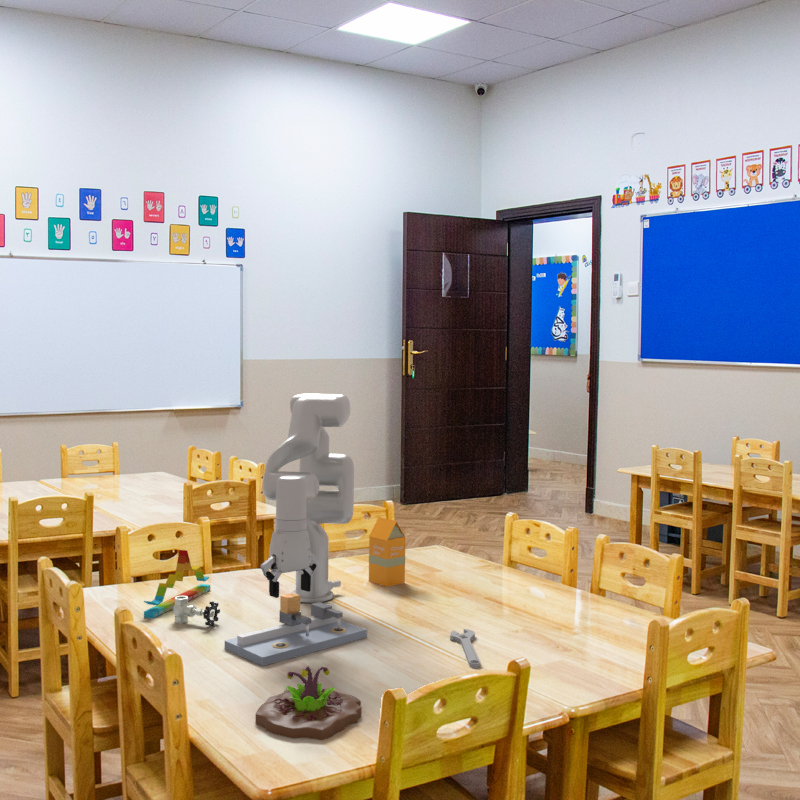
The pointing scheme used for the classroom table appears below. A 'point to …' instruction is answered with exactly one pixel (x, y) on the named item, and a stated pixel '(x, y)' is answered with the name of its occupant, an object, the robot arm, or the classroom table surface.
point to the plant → (308, 709)
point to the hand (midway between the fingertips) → (290, 593)
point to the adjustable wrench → (467, 646)
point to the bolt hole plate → (296, 637)
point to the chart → (169, 604)
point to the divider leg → (292, 611)
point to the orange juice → (386, 553)
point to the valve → (193, 611)
